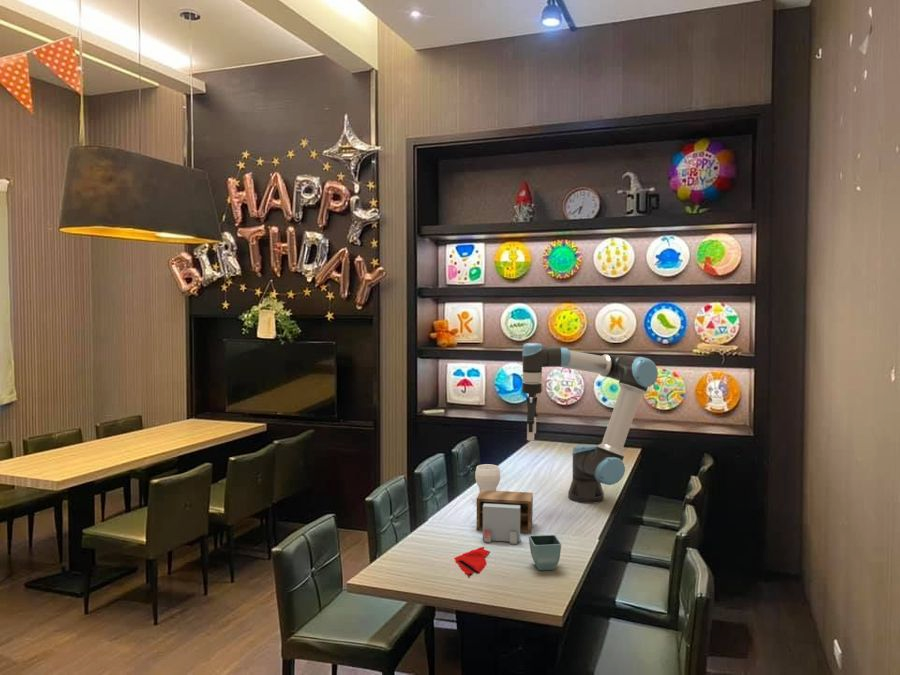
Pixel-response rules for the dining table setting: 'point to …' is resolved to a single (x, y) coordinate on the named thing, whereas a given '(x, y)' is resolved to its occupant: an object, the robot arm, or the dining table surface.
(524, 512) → the cabinet
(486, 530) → the hinge clips
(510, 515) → the door
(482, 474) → the cup
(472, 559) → the cloth
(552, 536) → the flower pot
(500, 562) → the dining table surface
